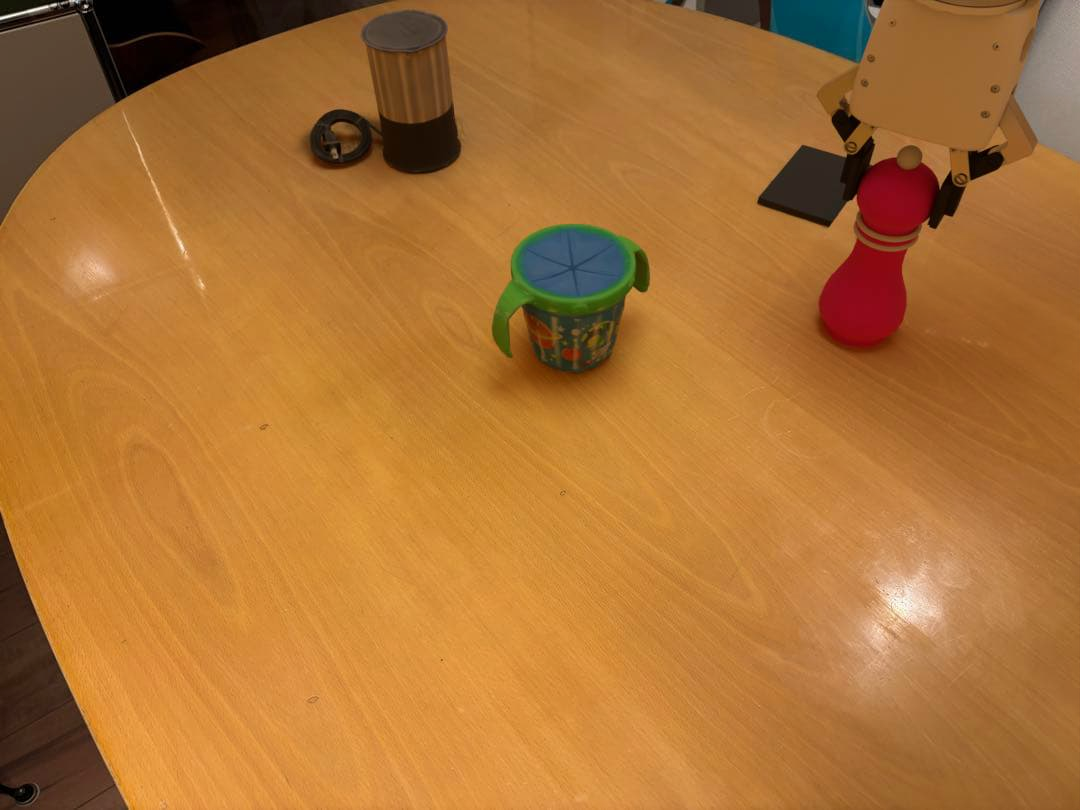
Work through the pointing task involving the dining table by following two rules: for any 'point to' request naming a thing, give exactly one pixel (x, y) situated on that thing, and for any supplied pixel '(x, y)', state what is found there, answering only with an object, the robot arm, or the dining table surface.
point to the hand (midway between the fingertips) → (894, 203)
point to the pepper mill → (879, 250)
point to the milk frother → (402, 96)
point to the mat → (808, 186)
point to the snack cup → (570, 293)
